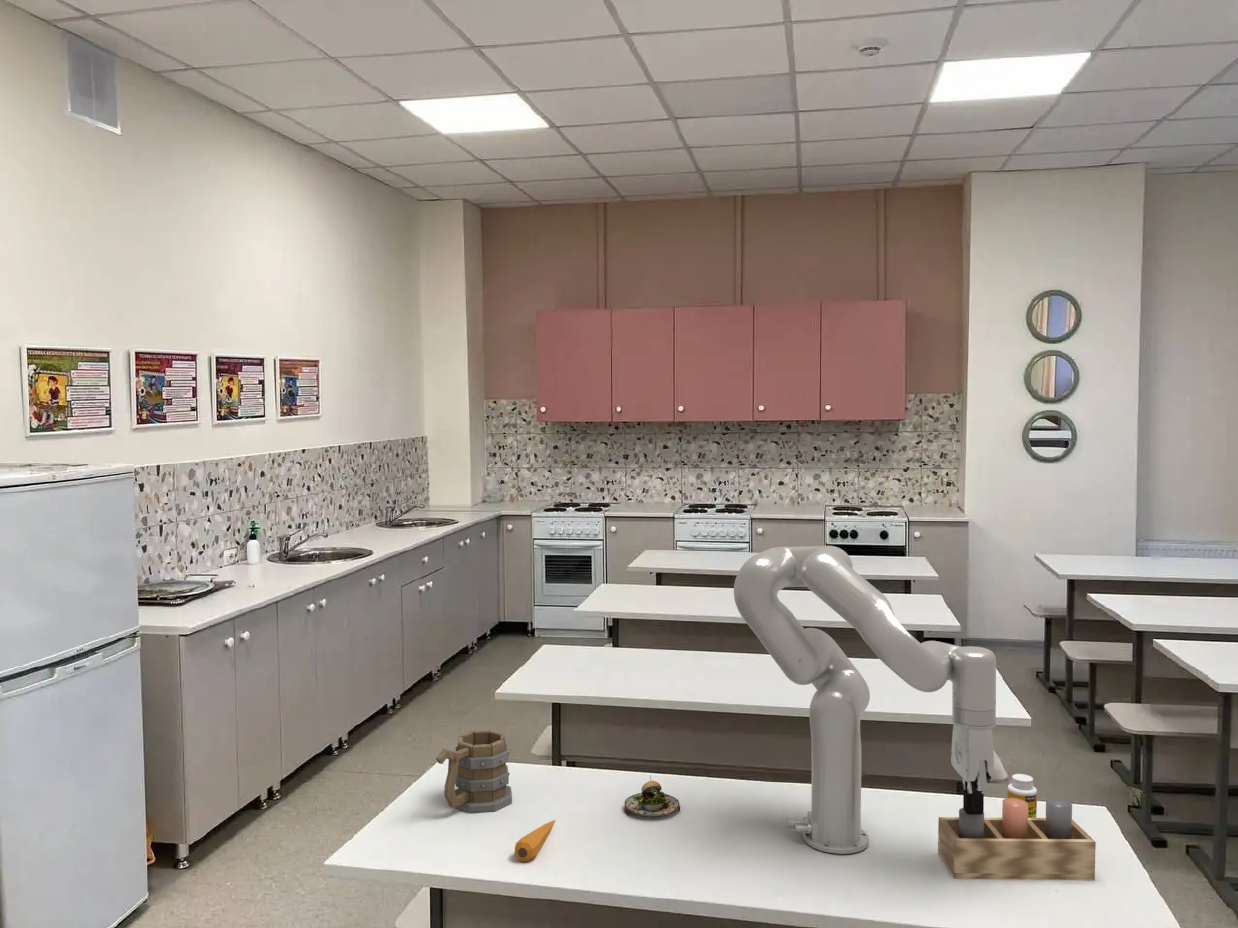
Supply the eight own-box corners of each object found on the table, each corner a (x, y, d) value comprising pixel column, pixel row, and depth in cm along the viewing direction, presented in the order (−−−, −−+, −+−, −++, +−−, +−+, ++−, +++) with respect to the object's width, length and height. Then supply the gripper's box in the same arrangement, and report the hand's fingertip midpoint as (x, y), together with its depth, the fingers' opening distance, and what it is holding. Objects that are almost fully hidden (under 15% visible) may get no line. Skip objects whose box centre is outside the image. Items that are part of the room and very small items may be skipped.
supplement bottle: (1025, 834, 191) (1026, 784, 191) (1000, 824, 196) (1001, 775, 195) (1042, 827, 194) (1043, 778, 194) (1017, 818, 199) (1018, 769, 198)
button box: (955, 878, 174) (955, 840, 173) (937, 852, 183) (938, 816, 183) (1094, 879, 173) (1095, 841, 172) (1070, 853, 183) (1070, 817, 182)
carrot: (528, 869, 179) (537, 847, 179) (507, 857, 181) (516, 835, 180) (560, 834, 199) (569, 814, 199) (542, 823, 200) (550, 804, 200)
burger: (618, 819, 199) (618, 784, 199) (630, 797, 211) (630, 764, 210) (675, 825, 197) (675, 789, 196) (684, 802, 208) (684, 768, 208)
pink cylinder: (1007, 844, 176) (1007, 807, 175) (998, 834, 180) (998, 797, 180) (1031, 844, 176) (1032, 807, 175) (1021, 834, 180) (1022, 797, 180)
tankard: (481, 784, 218) (480, 719, 217) (523, 797, 210) (522, 730, 209) (415, 815, 201) (413, 745, 201) (457, 830, 194) (456, 757, 193)
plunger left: (962, 854, 176) (963, 817, 176) (955, 843, 180) (955, 807, 180) (987, 854, 176) (987, 817, 176) (978, 843, 180) (979, 807, 180)
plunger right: (1051, 845, 176) (1052, 807, 175) (1041, 834, 180) (1042, 798, 180) (1075, 845, 175) (1076, 807, 175) (1064, 834, 180) (1065, 798, 179)
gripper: (940, 702, 184) (940, 796, 185) (967, 728, 169) (966, 830, 170) (980, 702, 184) (979, 796, 185) (1009, 728, 169) (1009, 829, 170)
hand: (973, 812), depth 178 cm, fingers closed
